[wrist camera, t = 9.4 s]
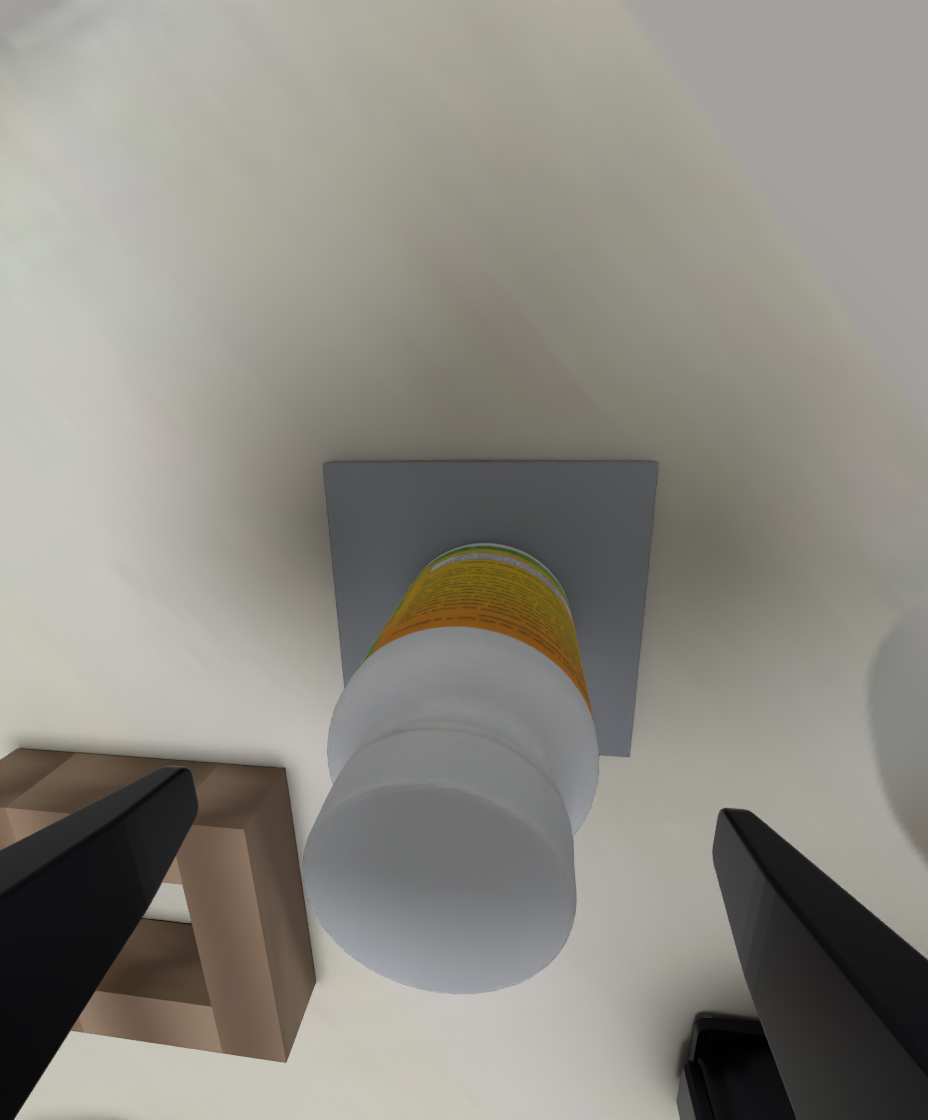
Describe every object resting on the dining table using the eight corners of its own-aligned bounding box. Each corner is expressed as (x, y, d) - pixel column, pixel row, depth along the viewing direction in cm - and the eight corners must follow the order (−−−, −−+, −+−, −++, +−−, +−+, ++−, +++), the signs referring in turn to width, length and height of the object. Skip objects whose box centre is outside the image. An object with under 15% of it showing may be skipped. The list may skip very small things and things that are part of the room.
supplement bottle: (400, 539, 16) (220, 726, 7) (573, 538, 15) (644, 746, 6) (412, 688, 17) (279, 1009, 8) (569, 694, 17) (619, 1051, 7)
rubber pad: (654, 461, 15) (658, 463, 14) (626, 747, 18) (629, 757, 17) (328, 461, 16) (322, 463, 15) (353, 730, 19) (349, 738, 18)
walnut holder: (284, 768, 20) (243, 829, 17) (315, 982, 23) (286, 1062, 20) (17, 748, 21) (-62, 801, 18) (84, 952, 25) (26, 1023, 22)
